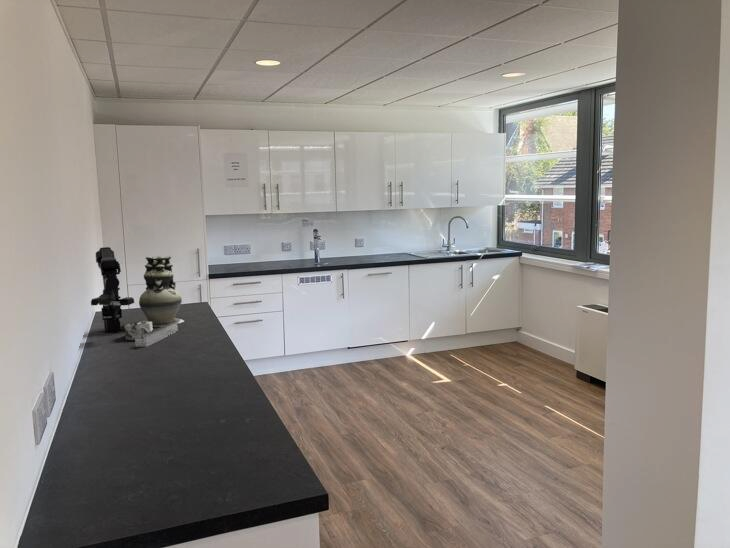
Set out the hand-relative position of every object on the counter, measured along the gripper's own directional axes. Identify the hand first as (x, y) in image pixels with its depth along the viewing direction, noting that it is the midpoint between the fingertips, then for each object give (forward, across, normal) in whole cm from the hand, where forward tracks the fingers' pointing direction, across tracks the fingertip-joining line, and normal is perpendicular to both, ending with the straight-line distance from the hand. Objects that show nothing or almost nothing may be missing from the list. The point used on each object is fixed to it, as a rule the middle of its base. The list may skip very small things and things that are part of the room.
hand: (114, 319), depth 276 cm
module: (+9, +7, +14) cm, 18 cm away
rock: (+9, +10, +1) cm, 14 cm away
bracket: (+9, +21, 0) cm, 23 cm away
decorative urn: (+9, +6, +33) cm, 35 cm away
